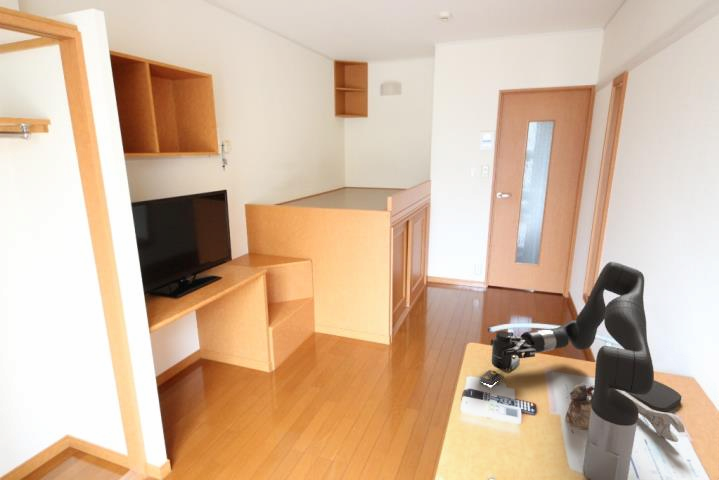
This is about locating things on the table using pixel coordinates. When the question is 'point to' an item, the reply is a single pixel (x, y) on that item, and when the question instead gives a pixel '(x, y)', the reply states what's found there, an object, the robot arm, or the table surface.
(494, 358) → the supplement bottle
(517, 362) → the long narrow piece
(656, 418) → the wrench
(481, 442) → the table surface
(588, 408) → the figurine
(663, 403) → the media streaming box
